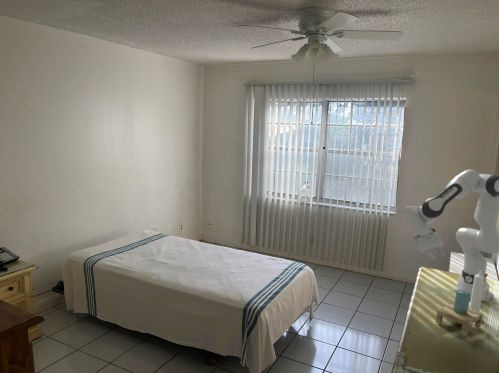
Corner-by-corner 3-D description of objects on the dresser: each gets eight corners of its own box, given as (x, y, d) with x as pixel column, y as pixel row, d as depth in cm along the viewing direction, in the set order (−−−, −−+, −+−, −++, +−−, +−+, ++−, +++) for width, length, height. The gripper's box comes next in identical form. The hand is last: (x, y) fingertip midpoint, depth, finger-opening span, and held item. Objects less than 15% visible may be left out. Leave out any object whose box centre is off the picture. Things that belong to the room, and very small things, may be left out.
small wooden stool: (451, 315, 197) (453, 302, 195) (480, 327, 186) (482, 313, 184) (435, 323, 187) (437, 309, 186) (465, 336, 176) (467, 322, 175)
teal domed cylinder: (456, 307, 189) (460, 288, 188) (469, 312, 185) (472, 293, 183) (450, 310, 186) (454, 291, 184) (463, 315, 181) (466, 296, 179)
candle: (483, 320, 192) (491, 273, 189) (468, 318, 194) (475, 271, 190) (478, 314, 199) (485, 268, 195) (463, 312, 201) (470, 267, 197)
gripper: (416, 233, 193) (433, 257, 187) (436, 228, 205) (453, 250, 199) (407, 240, 197) (423, 263, 191) (427, 234, 209) (443, 256, 203)
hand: (438, 257), depth 195 cm, fingers open, 8 cm apart
